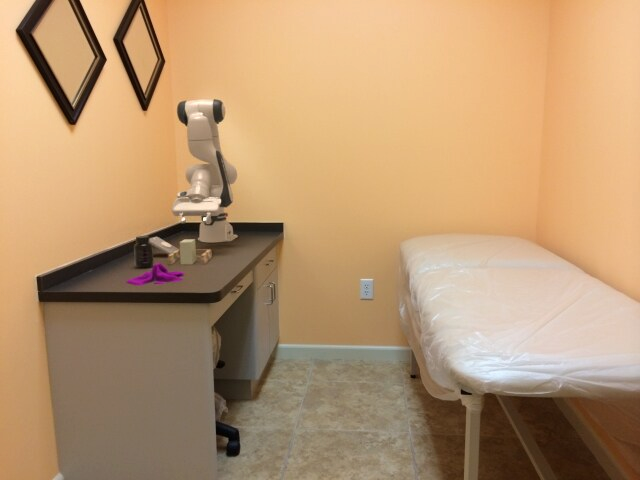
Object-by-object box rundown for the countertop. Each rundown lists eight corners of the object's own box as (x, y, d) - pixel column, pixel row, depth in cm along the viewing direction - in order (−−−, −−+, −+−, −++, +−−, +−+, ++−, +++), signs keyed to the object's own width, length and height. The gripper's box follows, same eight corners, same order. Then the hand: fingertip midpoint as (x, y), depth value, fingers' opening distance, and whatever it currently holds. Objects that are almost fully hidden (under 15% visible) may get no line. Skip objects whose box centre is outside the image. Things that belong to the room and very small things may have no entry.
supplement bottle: (134, 265, 198) (132, 235, 196) (152, 264, 200) (151, 234, 198) (135, 269, 191) (133, 238, 189) (154, 267, 194) (152, 237, 192)
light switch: (176, 254, 212) (147, 237, 213) (170, 265, 213) (142, 249, 215) (185, 250, 220) (157, 234, 222) (179, 261, 222) (152, 245, 223)
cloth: (119, 287, 167) (118, 269, 166) (140, 274, 185) (138, 258, 184) (185, 287, 167) (184, 269, 166) (199, 274, 185) (198, 257, 184)
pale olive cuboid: (185, 260, 206) (184, 239, 205) (196, 260, 206) (195, 239, 205) (180, 264, 199) (179, 242, 198) (192, 264, 199) (190, 242, 198)
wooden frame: (177, 257, 213) (177, 249, 212) (211, 257, 213) (211, 249, 212) (168, 264, 199) (167, 256, 198) (204, 264, 199) (203, 255, 198)
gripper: (223, 201, 223) (219, 226, 215) (177, 202, 223) (172, 227, 215) (220, 192, 218) (217, 217, 210) (173, 193, 218) (168, 218, 210)
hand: (194, 222), depth 212 cm, fingers open, 8 cm apart
